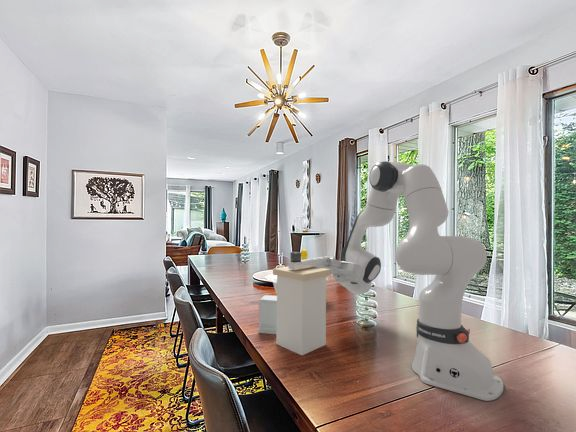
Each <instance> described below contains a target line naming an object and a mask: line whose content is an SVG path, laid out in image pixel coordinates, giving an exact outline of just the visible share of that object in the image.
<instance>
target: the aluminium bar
mask: <svg viewBox="0 0 576 432" xmlns="http://www.w3.org/2000/svg"><path fill="white" fill-rule="evenodd" d="M289 256H290V257H289V258H290V260H289V261H288V265H287V266H288V269H291V270H299V269H305V268H310V267H316V266H322V265H328V264H331V263H330V262H329V260H330V258H334V259H335V260H336V256H334V255H333V256H332V255H326V256H318V257H311V258H307V259H303V260H302V257H301V252H300V251H291V252H290V255H289Z"/></svg>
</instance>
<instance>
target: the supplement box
mask: <svg viewBox="0 0 576 432" xmlns="http://www.w3.org/2000/svg"><path fill="white" fill-rule="evenodd" d="M258 303H259V305H258V308H259V309H258V333H259V334H266V335H267V334H270V335H276V332H277V295H268V294H267V295H263V296H262V297H261V298H260V299H259V301H258Z"/></svg>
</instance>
